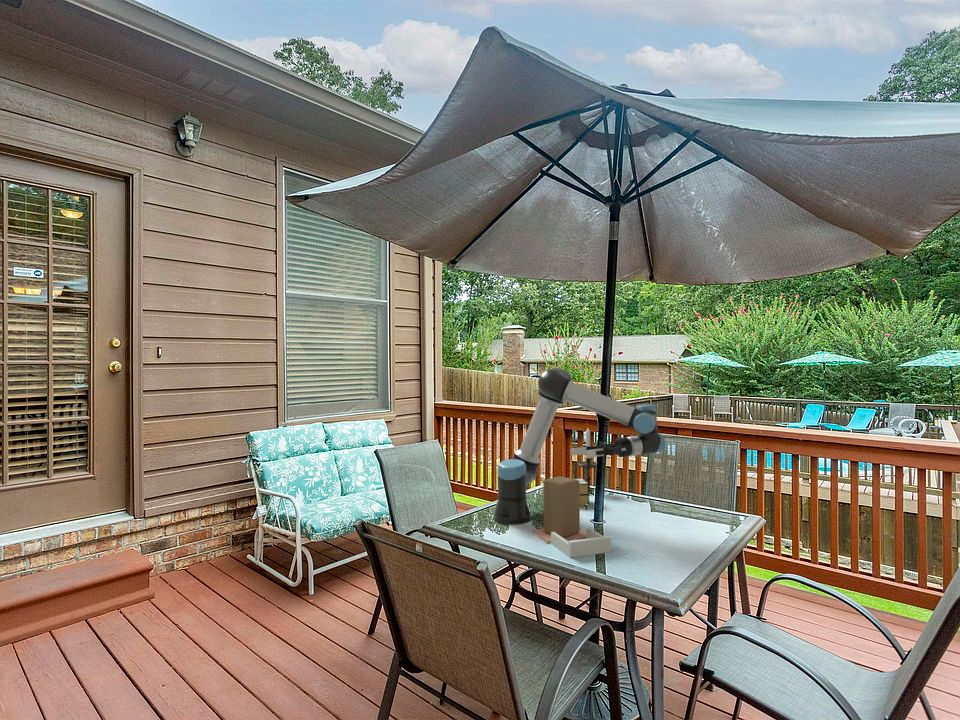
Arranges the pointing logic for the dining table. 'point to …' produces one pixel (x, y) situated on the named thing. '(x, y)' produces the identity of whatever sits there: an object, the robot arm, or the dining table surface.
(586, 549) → the lane rack
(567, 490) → the wooden block
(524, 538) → the dining table surface
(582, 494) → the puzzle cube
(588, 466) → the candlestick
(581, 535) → the terracotta mat
